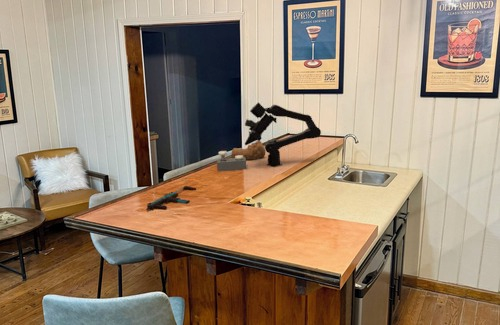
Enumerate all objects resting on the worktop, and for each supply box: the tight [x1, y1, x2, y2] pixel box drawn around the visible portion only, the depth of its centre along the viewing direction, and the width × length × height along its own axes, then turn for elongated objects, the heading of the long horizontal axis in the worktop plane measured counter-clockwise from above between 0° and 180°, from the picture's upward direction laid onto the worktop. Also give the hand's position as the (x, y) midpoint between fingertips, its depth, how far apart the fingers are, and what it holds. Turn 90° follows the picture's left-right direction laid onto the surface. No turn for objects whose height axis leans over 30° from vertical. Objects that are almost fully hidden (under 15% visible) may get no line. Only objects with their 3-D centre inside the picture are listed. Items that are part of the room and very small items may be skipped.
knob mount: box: [216, 157, 247, 172], centre depth 232 cm, size 16×8×5 cm, turn 93°
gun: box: [146, 185, 197, 211], centre depth 184 cm, size 32×2×15 cm
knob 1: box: [218, 150, 228, 161], centre depth 230 cm, size 5×5×6 cm
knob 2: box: [235, 155, 243, 160], centre depth 232 cm, size 5×5×6 cm
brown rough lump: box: [231, 140, 266, 160], centre depth 253 cm, size 19×11×15 cm
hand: (245, 144), depth 229 cm, fingers closed
